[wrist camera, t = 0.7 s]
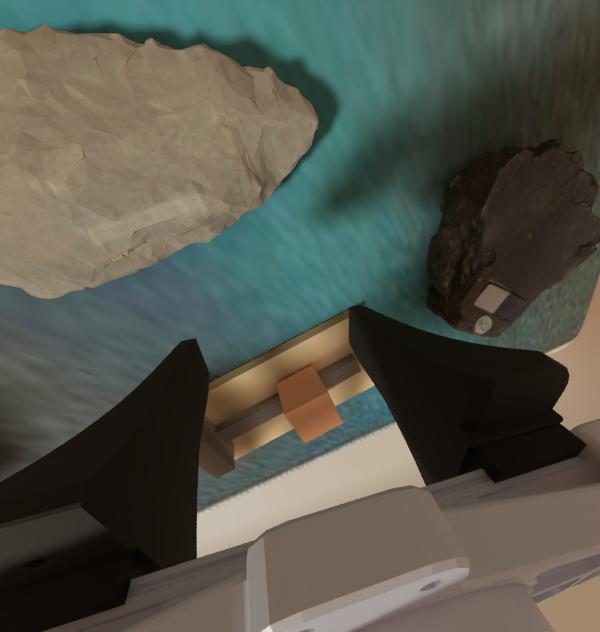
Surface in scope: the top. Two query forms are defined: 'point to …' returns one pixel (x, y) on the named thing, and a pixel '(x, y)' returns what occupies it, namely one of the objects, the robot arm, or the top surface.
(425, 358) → the robot arm
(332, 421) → the slider block
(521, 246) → the rock sample
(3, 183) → the stone tool
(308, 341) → the rail board
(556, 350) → the top surface
